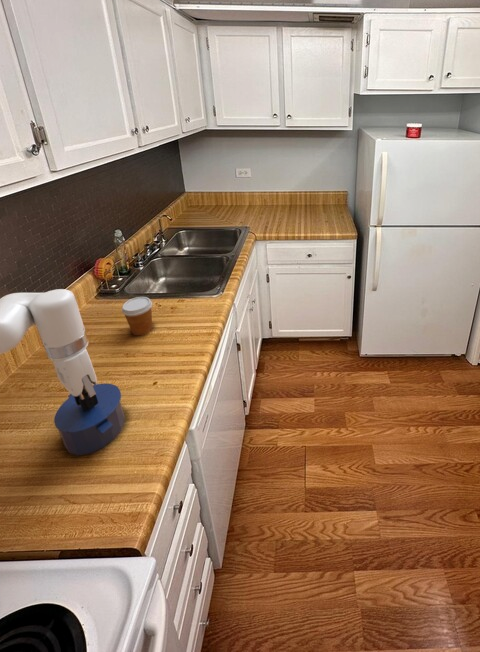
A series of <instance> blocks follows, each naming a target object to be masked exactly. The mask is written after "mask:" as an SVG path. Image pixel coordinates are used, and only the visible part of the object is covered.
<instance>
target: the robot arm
mask: <svg viewBox="0 0 480 652" xmlns="http://www.w3.org/2000/svg"><path fill="white" fill-rule="evenodd" d="M33 326H36V329H37V332H38V334H39V336H40V340H41V342H42V345H43V347H44V350H45V352H46V356H47V358H48V359H49V360H51V361H52V363H53V367H54V371H55V374H56V378H57V379H58V381H59V382H60V384H61V385H62V386H63V387H64V388H65V390H67V392H69V394H72V395H73V396H74V398H75V401H76V404H77V405H81V407H82V410H83V412H86V411H88V410H89V409H91V408H92V407H94V406H95V405H97V404H98V400H97V397H96V392H95V390H94V388H93V385H96V384H98V378H97V374H96V371H95V368H94V365H93V362H92V360H91V358H90V354H89V352H88V350H87V347H88V346H89V344H90V341H89V338H88V335H87V331H86V328H85V325H84V322H83V318H82V315H81V312H80V309H79V306H78V303H77V299H76V296H75V294H74V292H72V291H71V290H69V289H64V288H58V289H52V290H48V291H45V292H13V293H8V294H6V295H4V296H2V297H0V355H3V354H5V353H8V352H10V351H12V350H13V349H15V348H16V347H17V346H18V345H19V344H20V343H21V341H22V340H23V339H24V337H25V336H26V334H27V332H28V330H29V329H30V328H31V327H33ZM83 390H86V392H84V393H83V392H82V391H83ZM79 396H80V398H79Z"/></svg>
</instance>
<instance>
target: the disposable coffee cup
mask: <svg viewBox="0 0 480 652" xmlns="http://www.w3.org/2000/svg"><path fill="white" fill-rule="evenodd" d="M152 307H153V301H152V300H151V299H150V298H149V297H147V296H136V297H133V298H130V299H128V300H127V301H125V302H124V303H123V305H122V308H121V313H122V314H123V315H124V317H125V319H126V322H127V324H128V326H129V329H130V331H131V333H132V334H133V335H134V336H144V335H146V334H148V333H150V332H151V331H152V329H153V314H152V313H153V312H152Z"/></svg>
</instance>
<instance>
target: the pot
mask: <svg viewBox="0 0 480 652" xmlns="http://www.w3.org/2000/svg"><path fill="white" fill-rule="evenodd" d="M71 396H72V394H71V393H69V394H68V395H67V397H68V398H69V397H71ZM125 422H126V420H125V413H124V409H123V406H122V402H121V401H120V403H119V405H118V407H117V408H116V410H115V411H114V412H113V413H112V414H111V415H110V416H109V417H108V418H107V419H106V420H104V421H103V422H101V423H100V424H98V425H96V426H95V427H92V428H90V429H88V430H85V431H82V432H77V433H64V432H61V431H59V430H58V432H59V435H60V438H61V440H62V443H63V445H64V448H65V450H67V451H68V453H69V454H72V455H76V456H81V455H89V454H92V453H95V452H96V451H99V450H101V449H103V448H104V447H106V446H107V445H108V444H110V443H112V441H114V440H115V439H116V438H117V436H118V435H119V434H120V433H121V431H122V429H123V427H124V424H125Z"/></svg>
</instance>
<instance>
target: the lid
mask: <svg viewBox="0 0 480 652" xmlns="http://www.w3.org/2000/svg"><path fill="white" fill-rule="evenodd" d="M92 385H93V388H94V390H95V392H96V397H97V400H98V404H97V405H95V406H94V407H92V408H91V409H89V410H88V411H86V412H83V410H82V407H81V405H77V404H76V401H75V398H74V396H73V395H72V396H71V397H68V398H67V399H66V400H65V401H64V402H63V403H61V405H60V406H59V408H58V409H57V411H56V412H55V414H54V418H53V422H54V426H55V428H56V429H57V430H58V432H59V431H61V432H64V433H77V432H82V431H85V430H88V429H90V428H92V427H95V426H96V425H98V424H100V423H101V422H103V421H104V420H106V419H107V418H108V417H109V416H110V415H111V414H112V413H113V412H114V411H115V410H116V408H117V407H118V405H119V403H120V402H121V400H122V392H121V390H120V388H119V387H118V386H117V385H115V384H113V383H106V382H105V383H97V384H96V385H94V384H92ZM82 392H83V393H84V392H86V390H83V391H82ZM79 398H80V396H79Z"/></svg>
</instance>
